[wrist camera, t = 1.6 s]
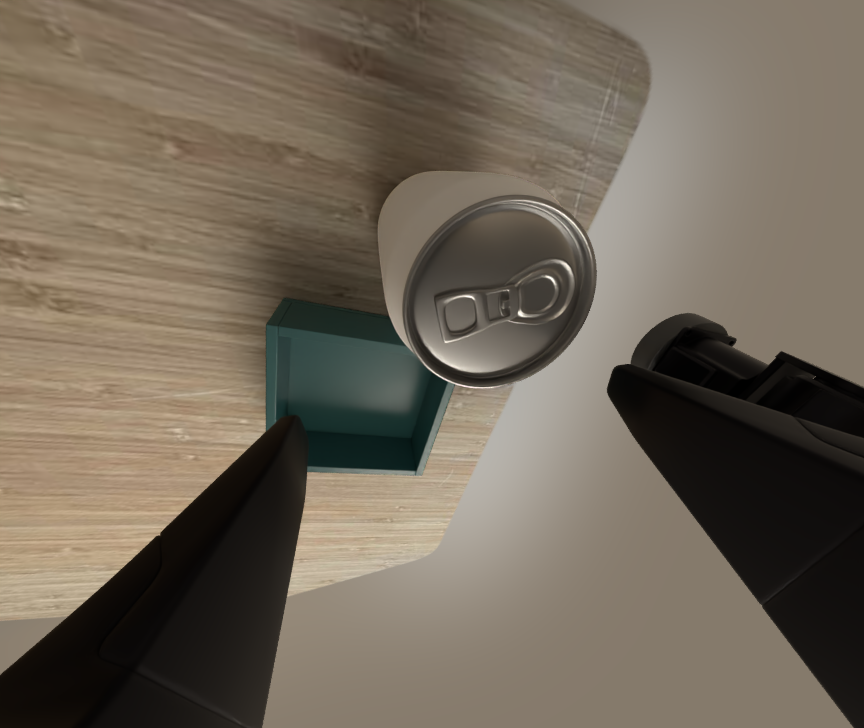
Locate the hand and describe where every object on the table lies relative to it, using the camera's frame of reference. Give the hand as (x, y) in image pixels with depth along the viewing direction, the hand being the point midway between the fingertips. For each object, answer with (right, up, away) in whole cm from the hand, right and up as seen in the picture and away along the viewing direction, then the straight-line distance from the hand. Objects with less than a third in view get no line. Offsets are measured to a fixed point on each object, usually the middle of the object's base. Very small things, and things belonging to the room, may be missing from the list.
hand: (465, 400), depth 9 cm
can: (-1, +9, +10) cm, 14 cm away
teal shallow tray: (-6, 0, +15) cm, 16 cm away
